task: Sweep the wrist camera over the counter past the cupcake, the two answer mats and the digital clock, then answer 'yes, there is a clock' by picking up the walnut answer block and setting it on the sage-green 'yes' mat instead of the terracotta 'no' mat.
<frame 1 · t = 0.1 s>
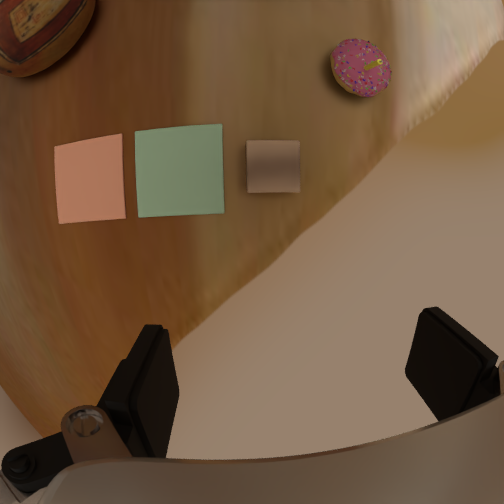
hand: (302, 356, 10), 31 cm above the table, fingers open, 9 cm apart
answer block: (268, 167, 38), on the table
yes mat: (178, 170, 38), on the table
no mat: (87, 180, 37), on the table
cupcake: (349, 76, 35), on the table
ceramic pitcher: (55, 32, 30), on the table
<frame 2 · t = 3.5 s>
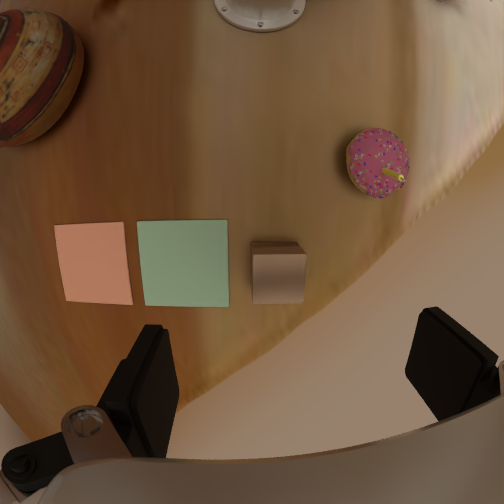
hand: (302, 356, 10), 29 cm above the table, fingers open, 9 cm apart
answer block: (273, 263, 40), on the table
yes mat: (183, 264, 39), on the table
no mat: (91, 264, 38), on the table
cupcake: (363, 162, 37), on the table
ceramic pitcher: (43, 86, 31), on the table
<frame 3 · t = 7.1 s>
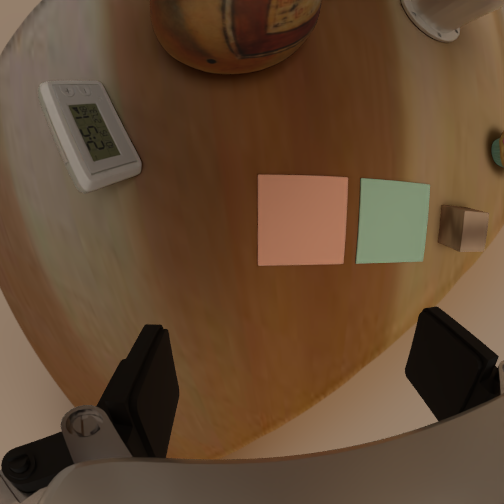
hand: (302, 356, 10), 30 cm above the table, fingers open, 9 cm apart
answer block: (452, 224, 40), on the table
digital clock: (107, 133, 35), on the table
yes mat: (394, 222, 39), on the table
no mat: (303, 220, 39), on the table
cupcake: (497, 151, 37), on the table
ceramic pitcher: (234, 24, 31), on the table
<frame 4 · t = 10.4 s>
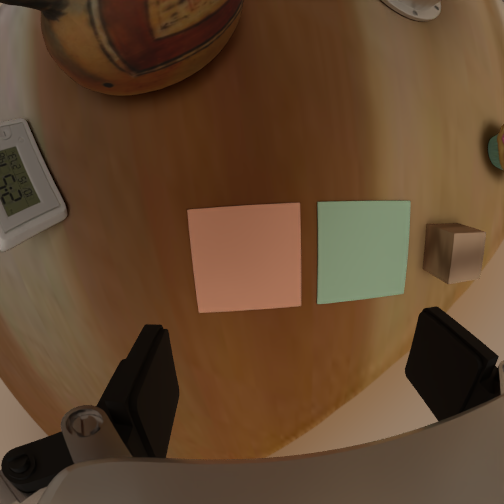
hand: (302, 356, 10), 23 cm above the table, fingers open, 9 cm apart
answer block: (441, 245, 34), on the table
digital clock: (35, 174, 29), on the table
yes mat: (365, 251, 33), on the table
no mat: (246, 259, 33), on the table
cupcake: (495, 151, 31), on the table
ceramic pitcher: (156, 31, 26), on the table
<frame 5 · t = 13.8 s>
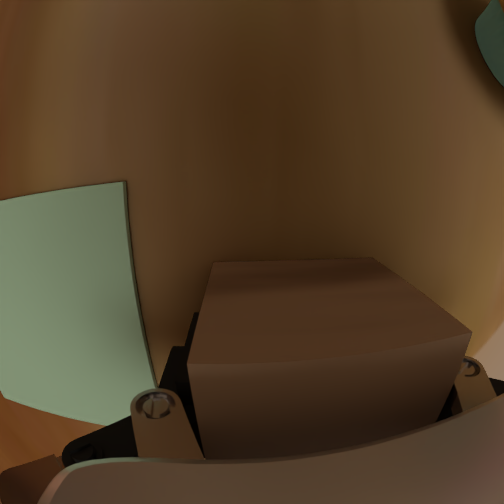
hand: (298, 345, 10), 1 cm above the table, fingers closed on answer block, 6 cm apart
answer block: (293, 332, 11), on the table, touching gripper
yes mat: (35, 324, 11), on the table
cupcake: (498, 52, 8), on the table
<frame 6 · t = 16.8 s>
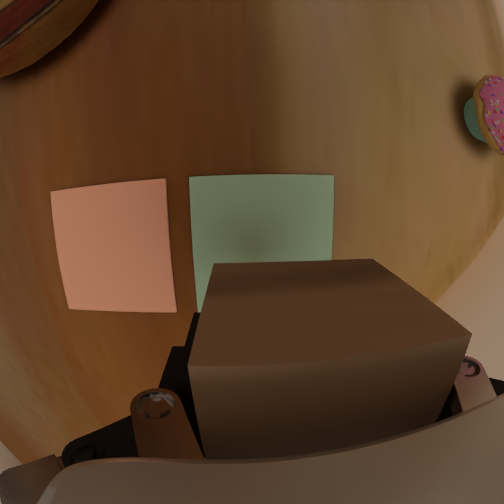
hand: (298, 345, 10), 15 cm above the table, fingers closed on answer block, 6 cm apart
answer block: (294, 333, 11), point 14 cm above the table, touching gripper
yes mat: (263, 245, 25), on the table
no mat: (109, 250, 25), on the table
cupcake: (475, 118, 23), on the table
ceramic pitcher: (50, 9, 17), on the table
when the fingers open (2 cm above the table, at t = 19.7 s): answer block drops 1 cm, resting on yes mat.
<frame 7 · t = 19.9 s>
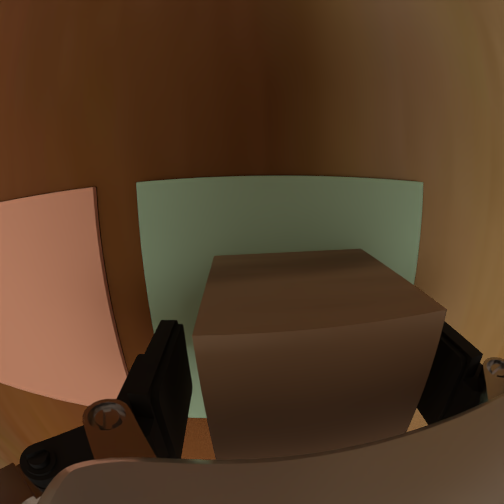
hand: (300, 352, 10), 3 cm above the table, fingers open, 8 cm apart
answer block: (290, 319, 12), resting on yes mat
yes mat: (288, 316, 13), on the table
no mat: (24, 311, 12), on the table
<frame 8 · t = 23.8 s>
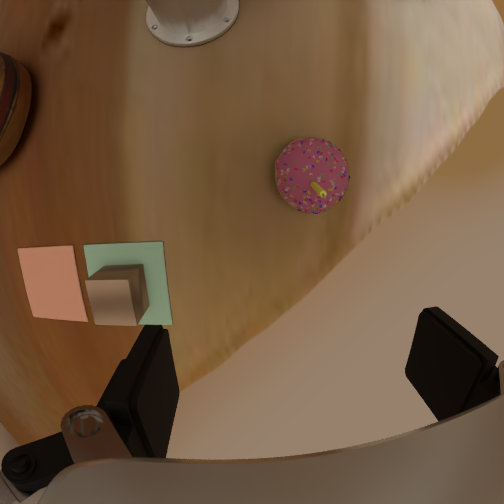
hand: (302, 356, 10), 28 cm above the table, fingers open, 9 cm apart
answer block: (126, 285, 38), resting on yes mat
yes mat: (127, 284, 38), on the table
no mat: (50, 283, 38), on the table
cupcake: (303, 174, 36), on the table
ceramic pitcher: (2, 118, 31), on the table
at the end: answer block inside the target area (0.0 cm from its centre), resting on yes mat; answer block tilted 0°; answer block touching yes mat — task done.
